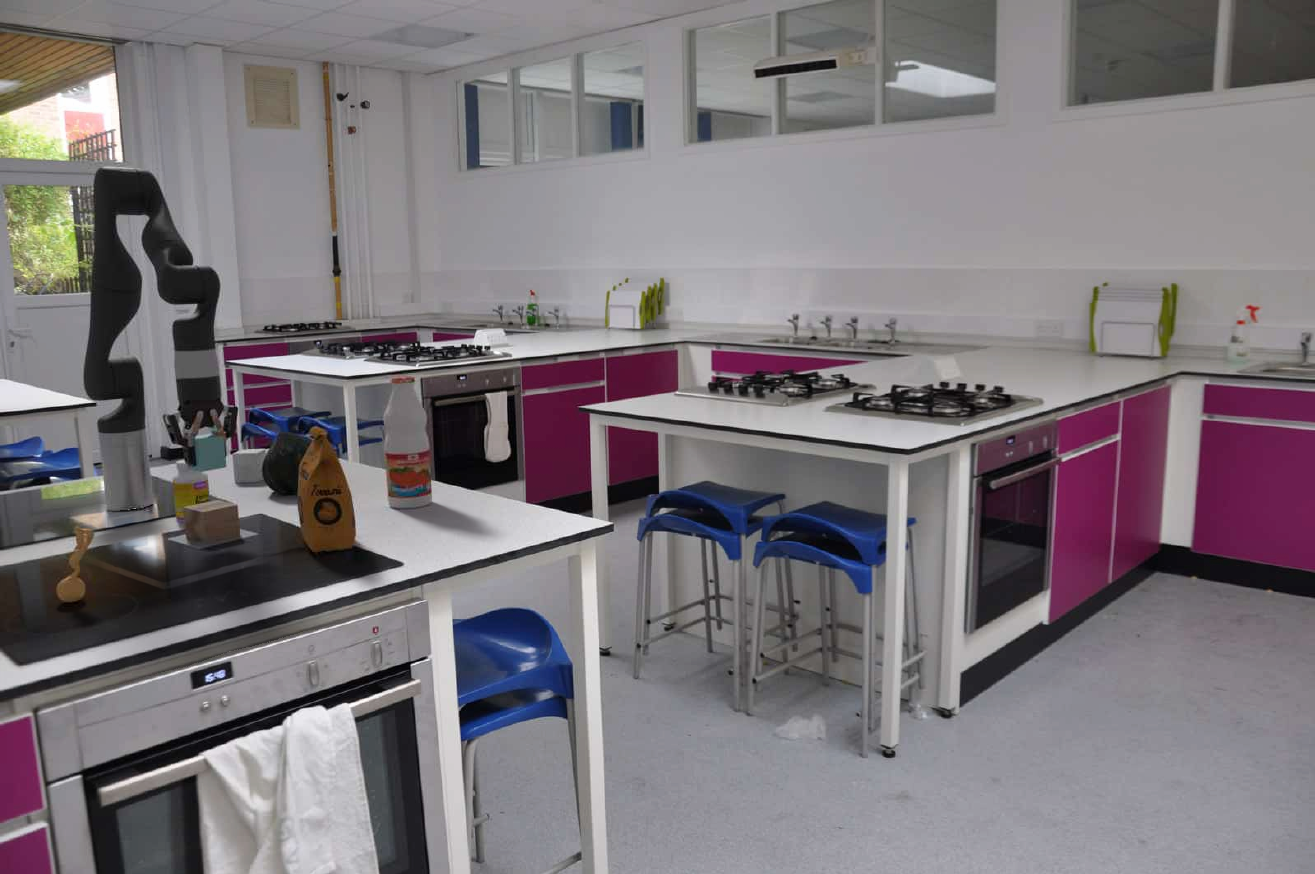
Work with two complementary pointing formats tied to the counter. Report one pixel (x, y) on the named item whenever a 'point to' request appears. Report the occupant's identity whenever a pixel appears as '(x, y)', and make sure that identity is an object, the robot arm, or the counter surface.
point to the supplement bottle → (189, 488)
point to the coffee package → (324, 497)
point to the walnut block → (211, 521)
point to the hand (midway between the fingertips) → (206, 463)
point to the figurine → (73, 586)
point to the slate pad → (200, 545)
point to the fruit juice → (406, 447)
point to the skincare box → (248, 465)
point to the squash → (284, 462)
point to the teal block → (209, 453)
